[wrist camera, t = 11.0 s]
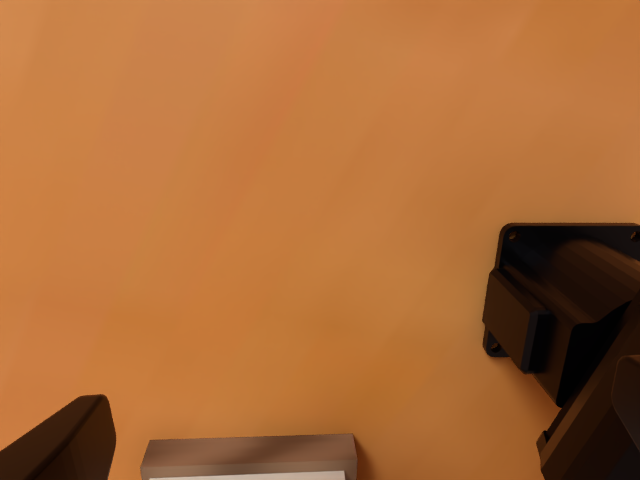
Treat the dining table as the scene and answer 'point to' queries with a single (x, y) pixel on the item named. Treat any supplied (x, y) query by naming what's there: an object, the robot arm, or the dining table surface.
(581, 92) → the dining table surface
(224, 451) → the tower bottom
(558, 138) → the dining table surface
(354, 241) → the dining table surface
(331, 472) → the tower top
